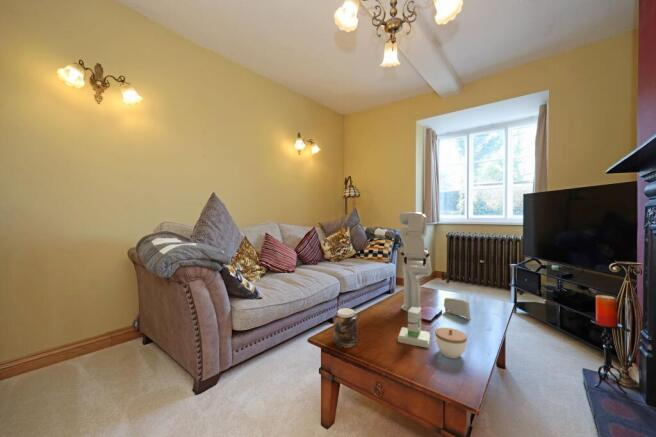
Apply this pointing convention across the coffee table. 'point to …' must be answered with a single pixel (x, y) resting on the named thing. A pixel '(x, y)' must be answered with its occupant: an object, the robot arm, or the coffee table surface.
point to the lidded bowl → (450, 342)
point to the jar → (345, 328)
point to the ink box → (414, 322)
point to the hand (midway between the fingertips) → (414, 264)
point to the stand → (414, 338)
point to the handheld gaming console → (457, 307)
